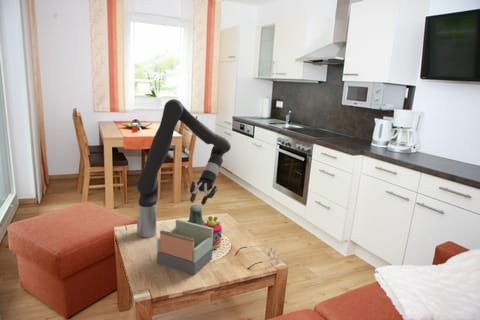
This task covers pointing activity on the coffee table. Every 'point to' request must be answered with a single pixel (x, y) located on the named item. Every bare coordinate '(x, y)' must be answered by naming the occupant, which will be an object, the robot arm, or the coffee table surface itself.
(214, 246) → the cake
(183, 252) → the panel
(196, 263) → the truck bed
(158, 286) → the coffee table surface
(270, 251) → the eyeglasses
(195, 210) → the tree stump
